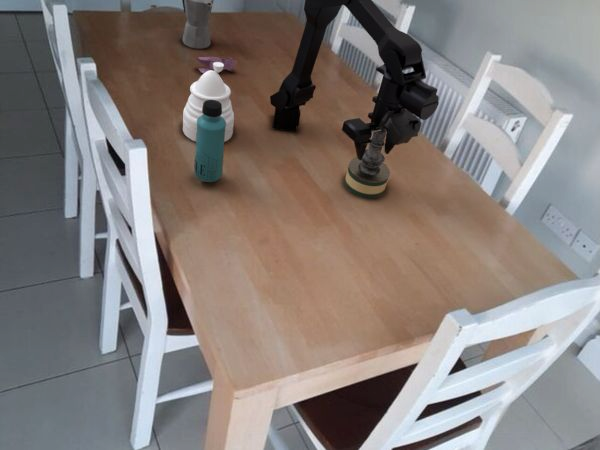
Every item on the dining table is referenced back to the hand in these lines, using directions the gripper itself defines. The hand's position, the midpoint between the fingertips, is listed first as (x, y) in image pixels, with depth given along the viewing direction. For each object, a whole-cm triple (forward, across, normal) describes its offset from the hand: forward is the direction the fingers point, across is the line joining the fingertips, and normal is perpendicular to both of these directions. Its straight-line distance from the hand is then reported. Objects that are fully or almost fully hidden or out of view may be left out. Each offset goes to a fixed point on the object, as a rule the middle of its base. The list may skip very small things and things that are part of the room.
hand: (372, 156), depth 133 cm
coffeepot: (+9, -9, +85) cm, 86 cm away
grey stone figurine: (+4, 0, 0) cm, 4 cm away
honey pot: (+9, -27, +34) cm, 44 cm away
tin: (+9, 0, 0) cm, 9 cm away
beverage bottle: (+9, -35, +14) cm, 39 cm away
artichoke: (+7, -19, +69) cm, 72 cm away
